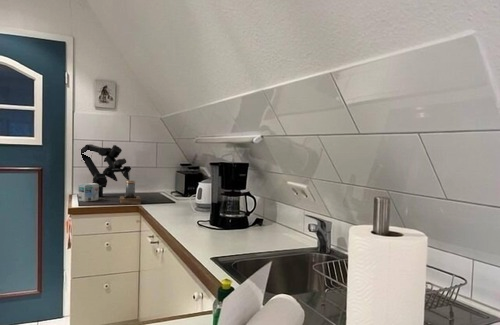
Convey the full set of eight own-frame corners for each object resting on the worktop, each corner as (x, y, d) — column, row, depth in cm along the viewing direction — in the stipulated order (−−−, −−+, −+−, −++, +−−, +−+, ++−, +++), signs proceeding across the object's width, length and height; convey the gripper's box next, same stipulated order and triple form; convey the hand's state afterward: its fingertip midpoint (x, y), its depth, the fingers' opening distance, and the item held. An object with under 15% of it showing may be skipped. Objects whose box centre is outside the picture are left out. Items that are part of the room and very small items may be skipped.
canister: (123, 200, 247) (124, 180, 246) (132, 200, 251) (132, 180, 250) (127, 202, 243) (128, 181, 242) (136, 201, 247) (136, 181, 246)
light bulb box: (84, 201, 242) (84, 184, 242) (77, 200, 246) (78, 183, 245) (98, 199, 251) (99, 183, 251) (92, 198, 255) (92, 182, 254)
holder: (119, 201, 250) (119, 196, 250) (138, 200, 254) (139, 195, 254) (120, 204, 239) (120, 199, 239) (140, 203, 243) (140, 198, 243)
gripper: (105, 154, 244) (116, 173, 239) (129, 154, 260) (140, 171, 254) (98, 166, 249) (108, 184, 243) (121, 165, 264) (132, 182, 259)
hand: (122, 180), depth 250 cm, fingers open, 9 cm apart
